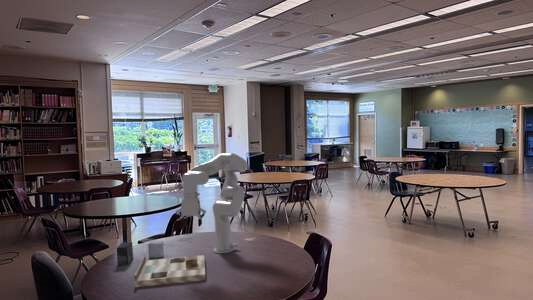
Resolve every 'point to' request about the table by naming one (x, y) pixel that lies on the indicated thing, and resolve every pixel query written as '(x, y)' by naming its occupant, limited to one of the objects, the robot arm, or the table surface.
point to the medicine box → (155, 249)
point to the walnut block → (191, 261)
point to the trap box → (168, 271)
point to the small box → (124, 253)
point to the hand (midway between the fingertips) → (191, 225)
